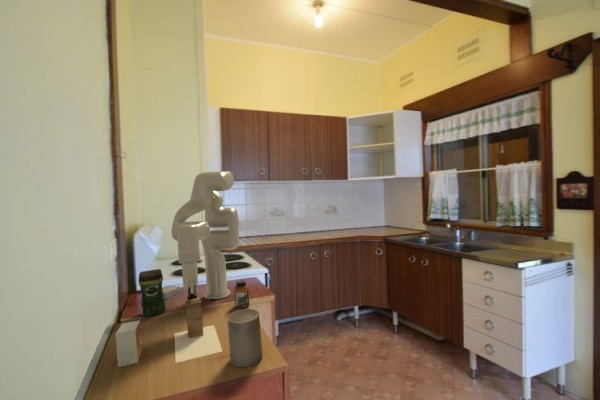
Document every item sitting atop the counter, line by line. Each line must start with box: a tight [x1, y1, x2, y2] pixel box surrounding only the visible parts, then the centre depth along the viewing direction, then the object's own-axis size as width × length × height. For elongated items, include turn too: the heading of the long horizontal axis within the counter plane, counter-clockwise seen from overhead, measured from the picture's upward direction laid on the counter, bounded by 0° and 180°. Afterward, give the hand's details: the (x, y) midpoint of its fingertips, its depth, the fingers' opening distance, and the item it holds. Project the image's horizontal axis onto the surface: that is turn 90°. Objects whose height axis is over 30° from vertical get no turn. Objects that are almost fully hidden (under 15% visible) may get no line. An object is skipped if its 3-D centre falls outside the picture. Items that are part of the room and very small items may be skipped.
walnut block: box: [185, 297, 204, 338], centre depth 113 cm, size 5×5×12 cm
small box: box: [114, 320, 143, 368], centre depth 99 cm, size 8×6×10 cm
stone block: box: [162, 284, 181, 300], centre depth 158 cm, size 12×5×10 cm
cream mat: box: [174, 324, 223, 364], centre depth 108 cm, size 21×14×1 cm, turn 22°
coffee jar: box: [137, 268, 167, 317], centre depth 135 cm, size 10×8×19 cm
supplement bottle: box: [234, 279, 250, 309], centre depth 138 cm, size 6×6×11 cm
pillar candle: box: [226, 308, 263, 368], centre depth 96 cm, size 10×10×15 cm
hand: (192, 305), depth 119 cm, fingers closed
